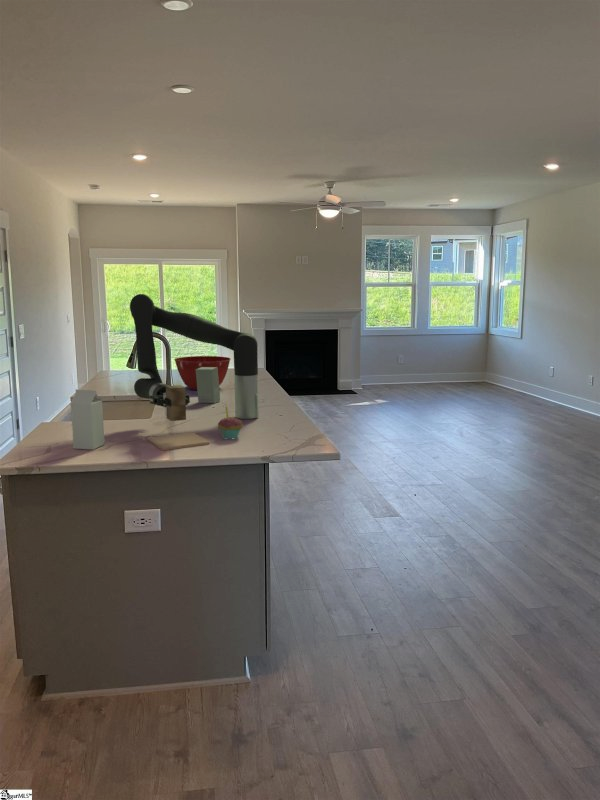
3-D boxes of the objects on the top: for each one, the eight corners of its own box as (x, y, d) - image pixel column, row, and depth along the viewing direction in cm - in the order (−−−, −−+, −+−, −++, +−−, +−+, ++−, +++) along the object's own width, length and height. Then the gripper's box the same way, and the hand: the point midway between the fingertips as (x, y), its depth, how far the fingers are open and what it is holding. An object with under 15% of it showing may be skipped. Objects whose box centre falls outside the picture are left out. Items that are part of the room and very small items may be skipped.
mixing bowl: (203, 382, 338) (202, 354, 335) (242, 387, 321) (242, 357, 318) (163, 389, 315) (162, 359, 312) (204, 394, 299) (203, 363, 296)
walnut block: (181, 416, 211) (180, 385, 209) (186, 419, 207) (185, 387, 205) (166, 418, 209) (165, 386, 206) (171, 421, 204) (170, 388, 202)
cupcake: (232, 441, 209) (231, 407, 207) (213, 438, 214) (212, 404, 211) (247, 436, 216) (247, 402, 214) (228, 433, 221) (227, 400, 219)
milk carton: (93, 450, 199) (89, 392, 195) (73, 449, 200) (69, 391, 197) (104, 444, 206) (101, 388, 202) (85, 443, 207) (81, 387, 204)
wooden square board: (192, 434, 220) (192, 432, 220) (209, 444, 206) (209, 441, 206) (147, 439, 212) (147, 437, 212) (162, 450, 198) (162, 448, 198)
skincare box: (220, 401, 282) (219, 366, 279) (213, 404, 275) (212, 368, 272) (203, 400, 285) (202, 366, 282) (196, 403, 278) (195, 368, 275)
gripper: (142, 385, 214) (157, 393, 200) (181, 382, 222) (198, 389, 207) (142, 406, 216) (157, 416, 201) (182, 403, 223) (199, 411, 209)
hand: (178, 402), depth 204 cm, fingers closed on walnut block, 5 cm apart
